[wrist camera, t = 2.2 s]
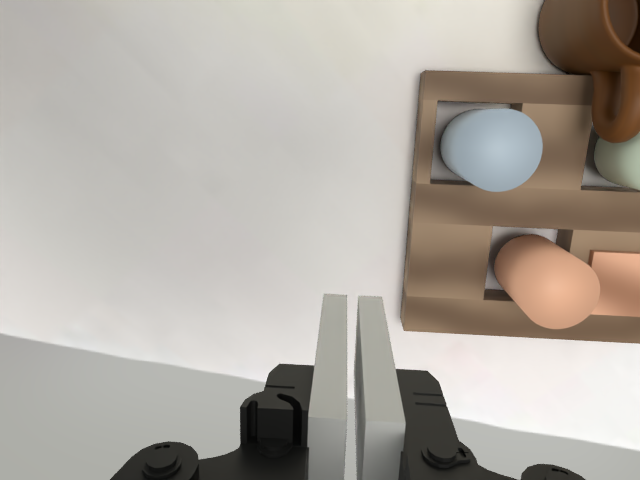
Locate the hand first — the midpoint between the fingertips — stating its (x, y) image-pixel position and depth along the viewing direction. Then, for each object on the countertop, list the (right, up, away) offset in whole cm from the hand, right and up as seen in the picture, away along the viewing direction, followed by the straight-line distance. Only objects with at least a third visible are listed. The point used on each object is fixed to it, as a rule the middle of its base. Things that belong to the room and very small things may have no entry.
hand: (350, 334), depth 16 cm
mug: (+18, +17, +20) cm, 32 cm away
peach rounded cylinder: (+15, +1, +22) cm, 26 cm away
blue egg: (+10, +10, +20) cm, 24 cm away
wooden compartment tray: (+16, +6, +23) cm, 29 cm away
